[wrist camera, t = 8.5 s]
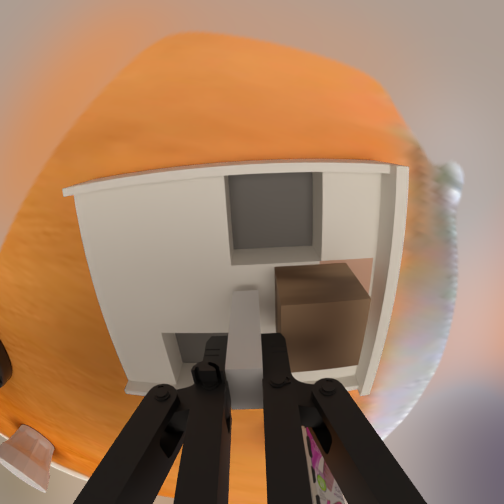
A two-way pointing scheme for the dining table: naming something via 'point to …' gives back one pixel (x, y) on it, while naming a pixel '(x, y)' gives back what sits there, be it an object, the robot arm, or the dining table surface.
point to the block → (320, 315)
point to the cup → (28, 457)
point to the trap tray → (234, 253)
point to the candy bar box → (320, 474)
